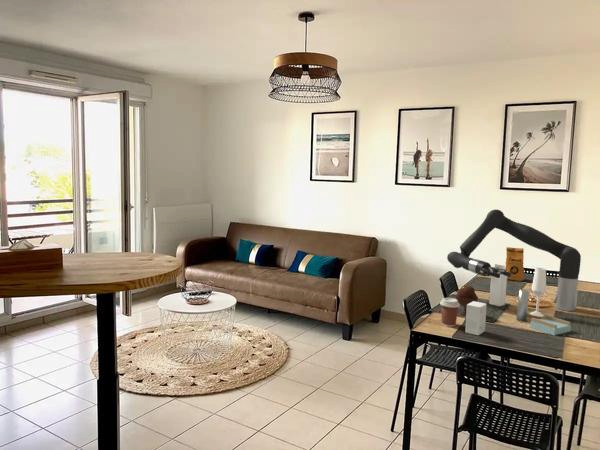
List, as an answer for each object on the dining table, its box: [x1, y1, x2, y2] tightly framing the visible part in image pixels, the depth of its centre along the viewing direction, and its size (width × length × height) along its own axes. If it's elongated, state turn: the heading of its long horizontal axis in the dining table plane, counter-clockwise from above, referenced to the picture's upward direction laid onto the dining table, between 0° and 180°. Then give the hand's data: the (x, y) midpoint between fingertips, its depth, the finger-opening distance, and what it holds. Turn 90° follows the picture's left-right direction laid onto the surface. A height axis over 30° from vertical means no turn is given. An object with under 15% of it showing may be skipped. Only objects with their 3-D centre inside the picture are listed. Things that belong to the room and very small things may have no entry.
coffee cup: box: [439, 297, 461, 327], centre depth 229 cm, size 9×9×12 cm
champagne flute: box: [529, 267, 547, 317], centre depth 247 cm, size 7×7×24 cm
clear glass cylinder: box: [516, 288, 530, 323], centre depth 237 cm, size 4×4×15 cm
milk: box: [488, 263, 508, 307], centre depth 265 cm, size 6×6×22 cm
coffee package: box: [505, 246, 525, 282], centre depth 327 cm, size 10×12×22 cm
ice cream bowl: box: [455, 285, 479, 317], centre depth 245 cm, size 11×11×15 cm
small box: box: [464, 301, 487, 336], centre depth 219 cm, size 8×6×13 cm
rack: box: [529, 314, 572, 336], centre depth 225 cm, size 12×12×4 cm
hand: (505, 275), depth 245 cm, fingers open, 8 cm apart
